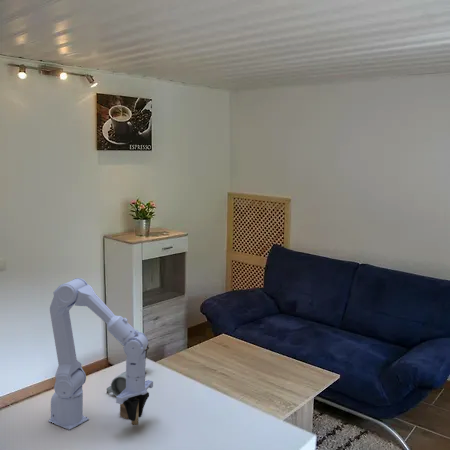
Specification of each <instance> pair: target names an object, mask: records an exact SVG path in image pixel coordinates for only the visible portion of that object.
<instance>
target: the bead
mask: <svg viewBox="0 0 450 450" xmlns="http://www.w3.org/2000/svg"><path fill="white" fill-rule="evenodd" d="M119 415H120V416H119V417H121V418H123V419H126V420H129V418H128V414H127V411H126V408H125V406H124V404H119Z"/></svg>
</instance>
